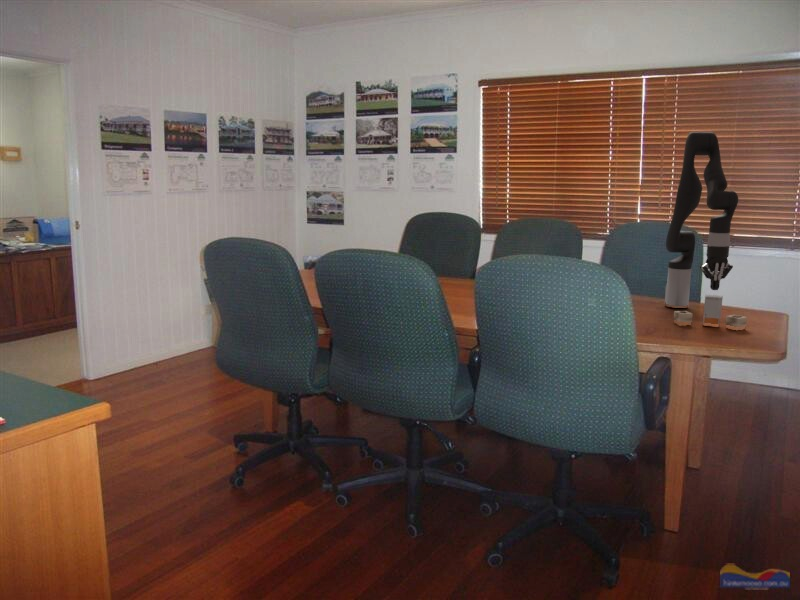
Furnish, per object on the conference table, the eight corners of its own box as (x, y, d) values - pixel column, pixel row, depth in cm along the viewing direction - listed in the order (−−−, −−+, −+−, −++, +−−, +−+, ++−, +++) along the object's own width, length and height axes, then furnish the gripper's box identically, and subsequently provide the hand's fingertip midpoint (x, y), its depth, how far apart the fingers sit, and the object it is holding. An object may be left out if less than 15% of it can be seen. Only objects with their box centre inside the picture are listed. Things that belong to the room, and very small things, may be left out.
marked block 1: (673, 323, 263) (674, 310, 262) (685, 323, 263) (686, 310, 262) (678, 326, 258) (679, 313, 257) (691, 326, 258) (692, 313, 257)
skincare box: (702, 326, 257) (704, 296, 254) (702, 324, 261) (705, 294, 258) (719, 328, 254) (722, 297, 252) (720, 326, 258) (722, 295, 255)
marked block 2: (725, 328, 254) (726, 315, 253) (734, 327, 256) (735, 313, 255) (736, 331, 250) (738, 318, 248) (745, 330, 252) (747, 316, 251)
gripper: (727, 242, 256) (723, 287, 259) (696, 243, 253) (692, 288, 257) (740, 245, 249) (736, 290, 252) (709, 246, 246) (705, 292, 250)
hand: (714, 289), depth 254 cm, fingers closed
